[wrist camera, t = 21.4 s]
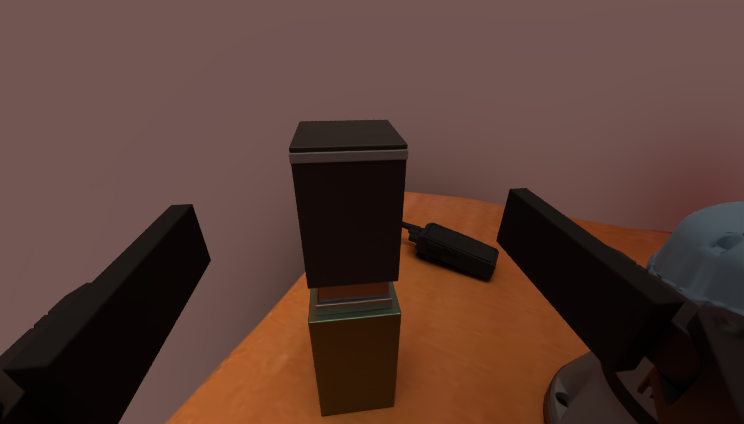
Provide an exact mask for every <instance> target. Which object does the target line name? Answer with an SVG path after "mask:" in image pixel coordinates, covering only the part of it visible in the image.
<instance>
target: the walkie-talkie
mask: <svg viewBox="0 0 744 424" xmlns="http://www.w3.org/2000/svg"><path fill="white" fill-rule="evenodd" d="M402 227H403V228H405V229H408V230H409V231H408V233H410V235H409V238H408V240H410V241H412V242H415V243H416V246H415V249H416V250H417V253H416V255H417V256H419V257H421V258H424V259H426V260H429V261H431V262H434V263H437V264H440V265H443V266H447V267H450V268H453V269H456V270H459V271H462V272H465V273H469V274H470V273H473V274H476V275H478V276H481V277H484V278H486V279H490V278H491V276H492V274H493V271H494V269H495V266H496V262H497V258H498V254H499V252H498V250H497V249H496V248H493V247H491V246H489V245H487V244H484V243H482V242H480V241H477V240H475V239H473V238H471V237H468V236H466V235H463V234H461V233H458V232H456V231H453V230H451V229H448V228H446V227H443V226H441V225H438V224H435V223H429V224H427V225H426V227H425V228H421V227H420V226H416V225H412V224H409V223H406V222H403V221H402Z"/></svg>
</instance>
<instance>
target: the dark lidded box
mask: <svg viewBox="0 0 744 424" xmlns="http://www.w3.org/2000/svg"><path fill="white" fill-rule="evenodd" d="M407 146H408V145H407V143H406V142H405V141H404V140H403V138H402V137H401V136H400V135H399V134H398V132H397V131H396V130H395V129H394V127H392V125H391V124H390V123H389V121H388V120H355V121H306V122H305V121H303V122H299V125H298V127H297V130H296V132H295V135H294V137H293V140H292V142H291V145H290V147H289V160H290V163H291V166H292V174H293V181H294V189H295V196H296V204H297V212H298V219H299V226H300V233H301V240H302V249H303V256H304V264H305V271H306V278H307V286H308V289H311V288H323V287H334V286H346V285H358V284H369V283H381V282H393V281H398V277H399V262H400V248H401V233H402V219H403V204H404V190H405V175H406V160H407V159H408V149H407Z"/></svg>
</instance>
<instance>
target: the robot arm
mask: <svg viewBox="0 0 744 424" xmlns="http://www.w3.org/2000/svg"><path fill="white" fill-rule="evenodd" d="M496 241H497V242H498V243H499V245H500V246H501V247H502V248H503V249H504V250H505V251H506V253H507V254H508V255H509V256H510V257H511V258H512V260H513V261H514V262H515V263H516V264H517V265H518V267H519V268H520V269H521V270H522V271H523V272H524V274H525V275H526V276H527V277H528V278H529V279H530V280H531V282H532V283H533V284H534V285H535V286H536V287H537V289H538V290H539V291H540V292H541V293H542V294H543V296H544V297H545V298H546V299H547V300H548V301H549V303H550V304H551V305H552V306H553V307H554V308H555V309H556V311H557V312H558V313H559V314H560V315H561V316H562V318H563V319H564V320H565V321H566V322H567V323H568V325H569V326H570V327H571V328H572V329H573V330H574V331H575V333H576V334H577V335H578V336H579V337H580V338H581V340H582V341H583V342H584V343H585V344H586V345H587V347H588V348H589V349H590V350H591V351H590V352H588V353H586V354H584V355H583V356H581V357H579V358H577V359H575V360H573V361H572V362H570V363H568V364H566V365H565V366H563V367H562V368H561V369H560V370H559V371H558V372H557V373H556V374H555V376H554V378H553V379H552V381H551V383H550V385H549V387H548V389H547V392H546V394H545V399H544V420H545V424H744V201H740V202H729V203H723V204H717V205H713V206H710V207H707V208H703V209H700V210H698V211H696V212H694V213H692V214H690V215H689V216H687V217H686V218H685V219H683V220H682V221H681V222H680V223H679V224H678V226H677V227H676V229H675V230H674V231H673V233H672V234H671V235H670V237H669V238H668V240H667V241H666V242H665V244H664V245H663V247H662V248H661V249H660V251H658V252H656V253H655V254H654V255H652V256H651V258H650V259H649V261H648V263H647V266H646V269H645V268H643V267H642V266H640V265H637V264H636V262H635V261H633V260H632V259H630V258H629V257H628V256H626V255H625V254H623V253H622V252H620V251H618V250H616V249H613V248H611V247H609V246H607V245H605V244H604V243H602V242H601V241H600V240H598V239H597V238H595V237H594V236H593V235H591V234H590V233H588V232H587V231H586V230H584V229H583V228H581V227H580V226H579V225H577V224H576V223H574V222H573V221H572V220H570V219H569V218H567V217H566V216H565V215H563V214H562V213H560V212H559V211H557V210H556V209H555V208H553V207H552V206H550V205H549V204H548V203H546V202H545V201H543V200H542V199H541V198H539V197H538V196H536V195H535V194H534V193H532V192H531V191H529V190H528V189H527V188H520V189H510V191H509V194H508V198H507V202H506V206H505V210H504V213H503V217H502V221H501V225H500V229H499V232H498V236H497V240H496ZM210 261H211V259H210V256H209V253H208V250H207V247H206V244H205V241H204V238H203V235H202V232H201V229H200V226H199V223H198V220H197V217H196V214H195V211H194V208H193V205H192V204H185V205H171V206H170V207H169V208H168V209H167V210H166V211H165V212H164V213H163V214H162V215H161V216H160V217H159V218H158V219H156V220H155V221H154V222H153V223H152V224H151V226H149V227H148V229H146V230H145V231H144V232H143V233H142V234H141V235H140V236H139V237H138V238H137V239H136V240H135V241H134V242H133V243H132V244H131V245H130V246H129V247H128V248H127V249H126V250H125V251H124V252H123V253H122V254H121V255H120V256H119V257H118V258H117V259H116V260H115V261H113V262H112V263H111V264H110V265H109V266H108V267H107V268H106V269H105V270H104V271H103V272H102V273H101V274H100V275H99V276H98V277H97V278H96V279H95V280H94V281H93V282H92V283H86V284H84V285H82V286H81V287H79V288H78V289H76V290H74V291H73V292H71V293H69V294H68V295H66V296H65V297H64V298H63V299H61V300H60V301H59V302H58V303H57V304H56V305H55V306H54V307H53V308H52V309H51V310H50V311H49V312H48V315H44V316H43V317H42V318H41V319H40V320H39V321H38V322H37V323H36V324H35V325H34V328H32V329H29V330H28V331H27V332H26V333H25V334H24V335H23V336H22V337H21V338H20V339H18V340H17V341H16V342H15V343H14V344H13V345H12V346H11V347H10V348H9V349H8V350H7V351H5V352H4V353H3V354H2V355H1V356H0V424H118V423H119V421H120V420H121V418H122V416H123V414H124V412H125V411H126V409H127V407H128V405H129V404H130V402H131V400H132V398H133V397H134V395H135V393H136V391H137V390H138V388H139V386H140V384H141V382H142V381H143V379H144V377H145V376H146V374H147V372H148V370H149V368H150V367H151V365H152V363H153V361H154V360H155V358H156V356H157V354H158V353H159V351H160V349H161V347H162V345H163V344H164V342H165V340H166V338H167V337H168V335H169V333H170V332H171V330H172V328H173V326H174V325H175V323H176V321H177V319H178V317H179V316H180V314H181V312H182V310H183V309H184V307H185V305H186V303H187V302H188V300H189V298H190V296H191V295H192V293H193V291H194V289H195V288H196V286H197V284H198V282H199V281H200V279H201V277H202V275H203V274H204V272H205V270H206V268H207V266H208V265H209V263H210Z"/></svg>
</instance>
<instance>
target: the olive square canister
mask: <svg viewBox="0 0 744 424" xmlns="http://www.w3.org/2000/svg"><path fill="white" fill-rule="evenodd" d="M400 324H401V311H400V307H399V303H398V300H397V296H396V292H395V289H394V285H393V282H381V283H369V284H358V285H346V286H334V287H323V288H311V291H310V305H309V318H308V325H309V332H310V339H311V346H312V353H313V360H314V367H315V373H316V380H317V387H318V394H319V401H320V408H321V415H322V416H327V415H335V414H342V413H349V412H357V411H364V410H371V409H379V408H386V407H393V406H394V397H395V385H396V373H397V360H398V348H399V336H400Z"/></svg>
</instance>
